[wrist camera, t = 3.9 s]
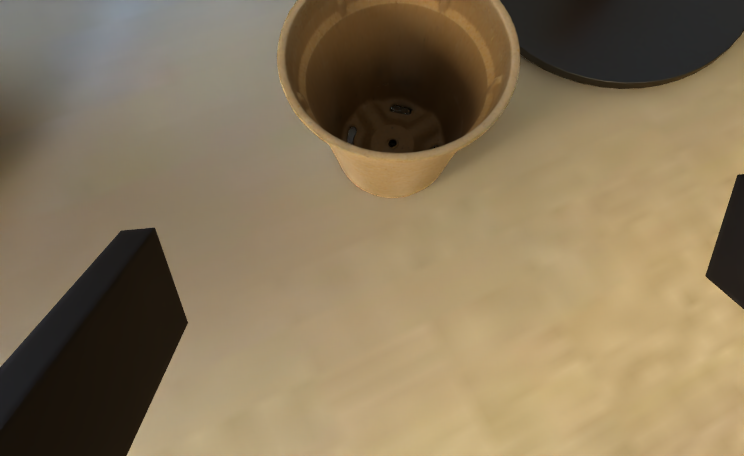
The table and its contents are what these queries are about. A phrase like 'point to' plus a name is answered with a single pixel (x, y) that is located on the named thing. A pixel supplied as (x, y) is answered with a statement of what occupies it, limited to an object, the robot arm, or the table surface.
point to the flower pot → (398, 82)
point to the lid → (625, 38)
